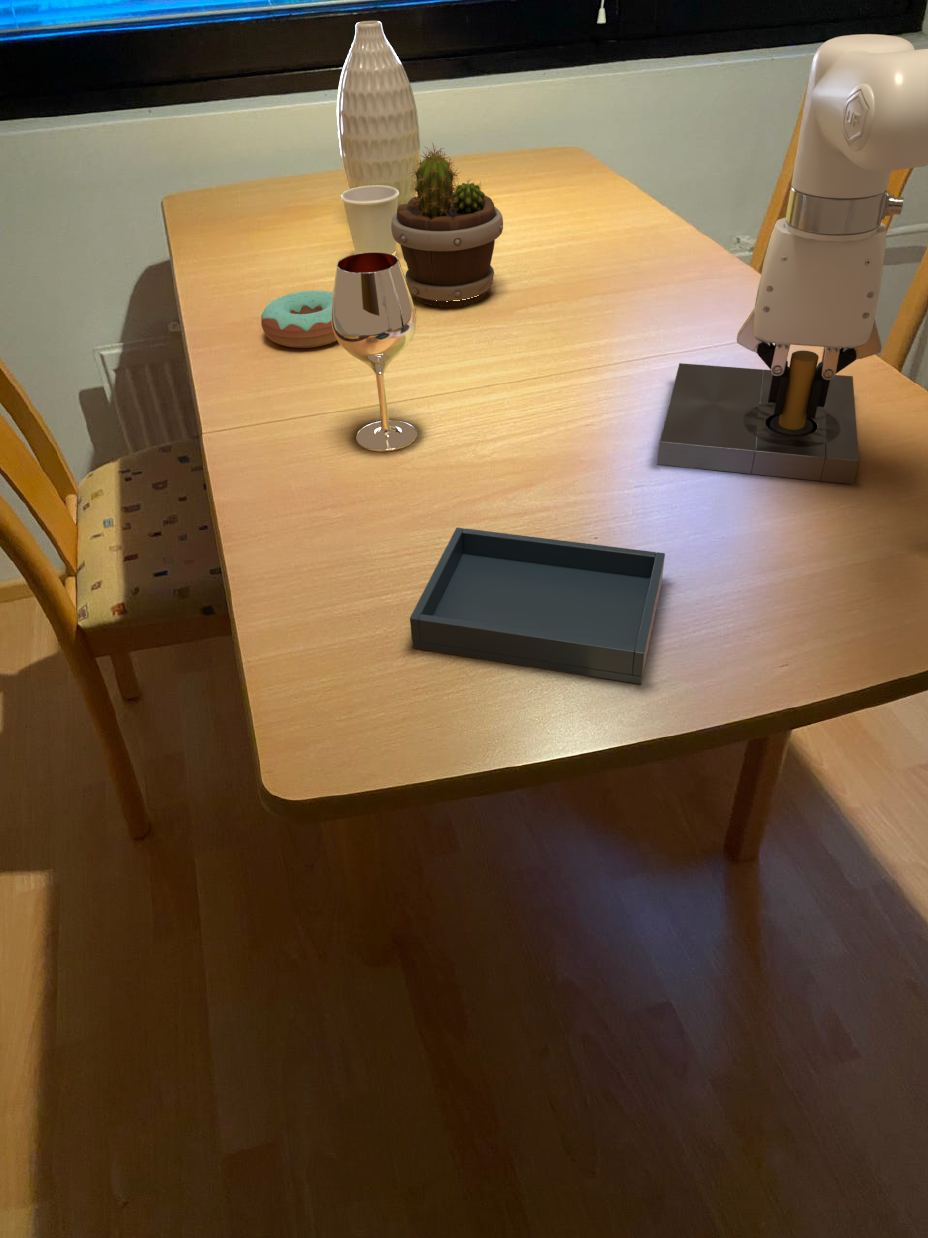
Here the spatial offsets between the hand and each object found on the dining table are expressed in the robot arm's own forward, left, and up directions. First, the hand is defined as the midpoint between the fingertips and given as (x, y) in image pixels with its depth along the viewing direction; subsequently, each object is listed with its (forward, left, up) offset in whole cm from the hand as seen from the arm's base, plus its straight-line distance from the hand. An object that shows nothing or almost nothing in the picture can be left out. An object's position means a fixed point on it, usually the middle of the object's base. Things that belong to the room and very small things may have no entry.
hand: (794, 409), depth 89 cm
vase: (+65, -64, -4) cm, 91 cm away
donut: (+59, -18, -4) cm, 62 cm away
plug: (0, 0, -4) cm, 4 cm away
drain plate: (+3, -3, -4) cm, 6 cm away
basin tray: (+18, +31, -4) cm, 36 cm away
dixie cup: (+60, -44, -4) cm, 74 cm away
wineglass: (+40, +6, -4) cm, 41 cm away
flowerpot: (+45, -34, -4) cm, 57 cm away
